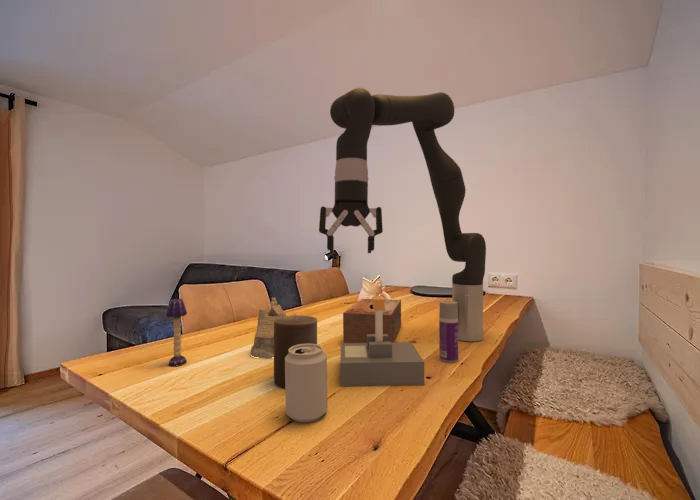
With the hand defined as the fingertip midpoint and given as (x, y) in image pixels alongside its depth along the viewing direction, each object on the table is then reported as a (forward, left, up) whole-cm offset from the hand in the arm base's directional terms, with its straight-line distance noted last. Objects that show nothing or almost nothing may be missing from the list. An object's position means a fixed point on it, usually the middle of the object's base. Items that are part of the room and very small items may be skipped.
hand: (350, 253), depth 76 cm
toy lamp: (-10, -45, -29) cm, 54 cm away
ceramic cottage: (-20, -19, -29) cm, 40 cm away
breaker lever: (-2, +6, -22) cm, 23 cm away
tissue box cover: (-34, +8, -29) cm, 45 cm away
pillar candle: (+1, -13, -29) cm, 31 cm away
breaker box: (-2, +6, -28) cm, 29 cm away
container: (-10, +25, -29) cm, 40 cm away
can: (+16, -9, -29) cm, 34 cm away
